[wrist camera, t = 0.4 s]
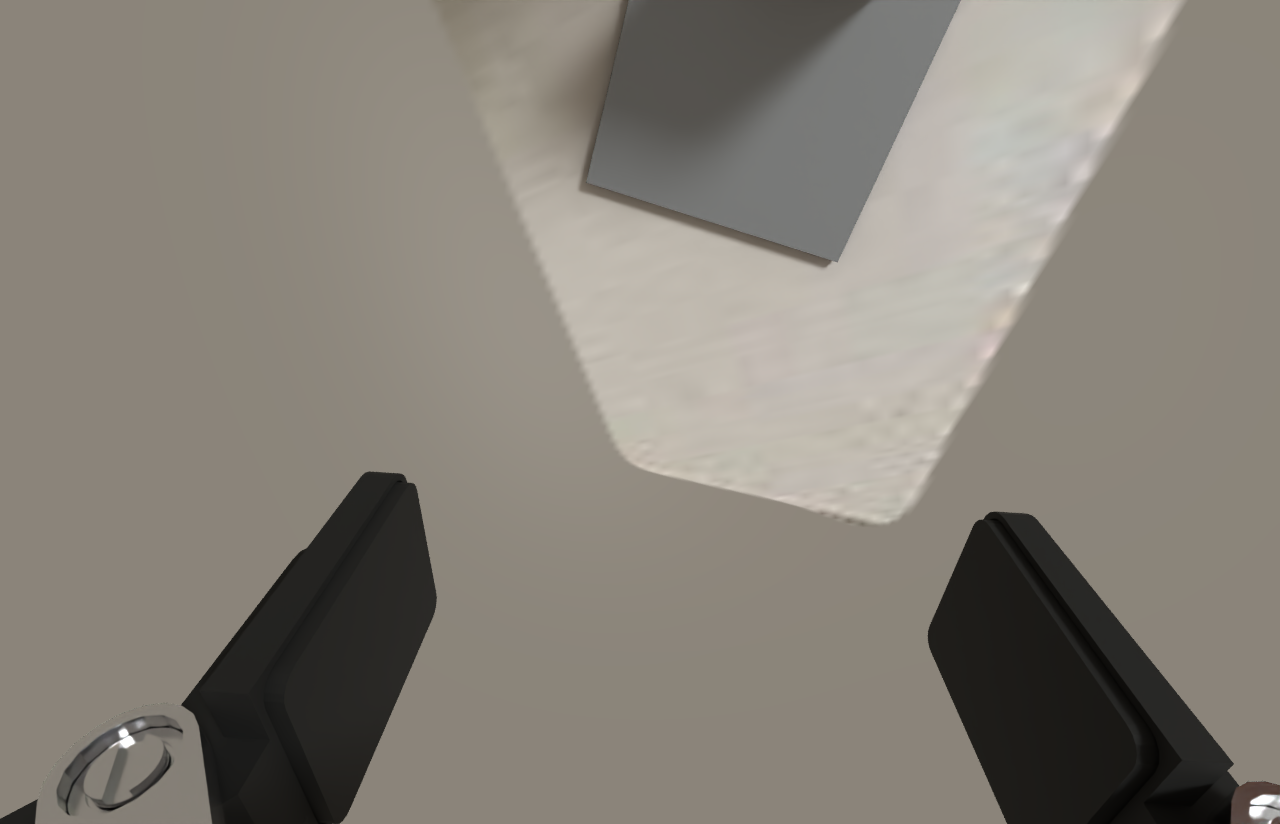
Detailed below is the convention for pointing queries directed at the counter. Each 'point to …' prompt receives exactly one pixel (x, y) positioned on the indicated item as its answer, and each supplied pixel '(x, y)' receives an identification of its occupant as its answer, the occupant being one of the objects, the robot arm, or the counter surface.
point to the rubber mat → (763, 109)
